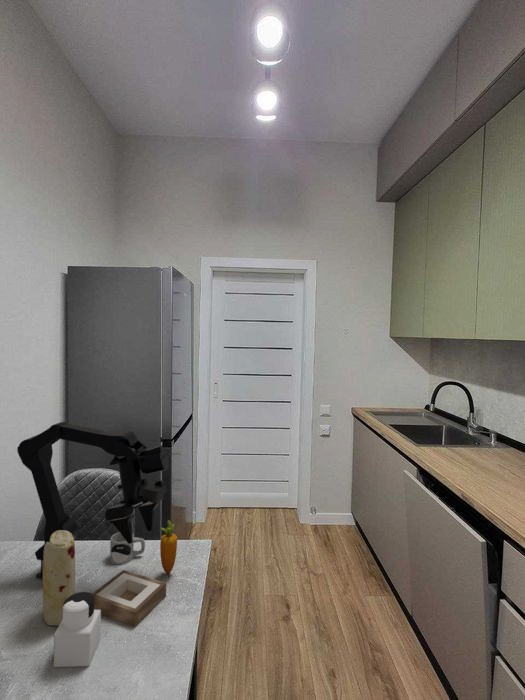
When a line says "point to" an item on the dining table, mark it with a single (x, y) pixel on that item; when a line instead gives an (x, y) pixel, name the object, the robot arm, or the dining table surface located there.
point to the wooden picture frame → (130, 584)
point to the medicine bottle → (77, 632)
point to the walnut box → (125, 612)
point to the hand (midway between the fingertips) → (140, 537)
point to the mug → (123, 549)
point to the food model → (58, 575)
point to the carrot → (168, 548)
